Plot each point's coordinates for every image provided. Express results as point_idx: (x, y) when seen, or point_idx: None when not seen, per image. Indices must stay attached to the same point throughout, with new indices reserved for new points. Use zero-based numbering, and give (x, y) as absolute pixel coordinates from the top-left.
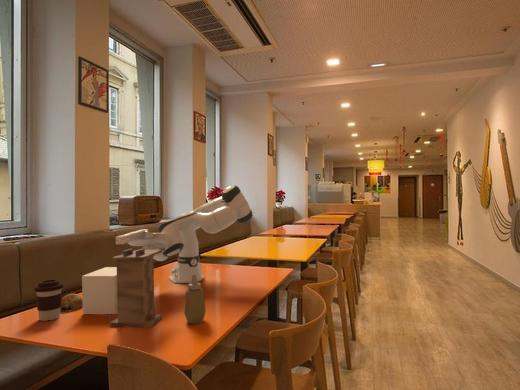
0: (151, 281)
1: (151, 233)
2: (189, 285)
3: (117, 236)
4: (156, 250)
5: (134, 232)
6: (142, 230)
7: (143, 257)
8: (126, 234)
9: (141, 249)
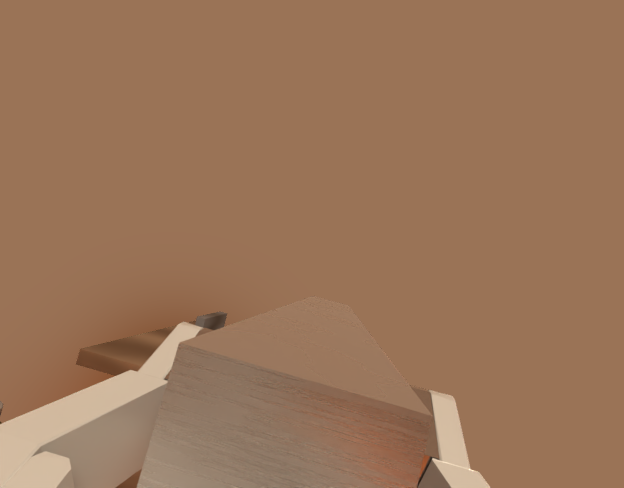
0: None
1: (51, 419)
2: (2, 404)
3: (346, 305)
4: (123, 349)
5: (320, 309)
6: (283, 318)
7: (195, 321)
8: (333, 305)
9: (208, 314)
